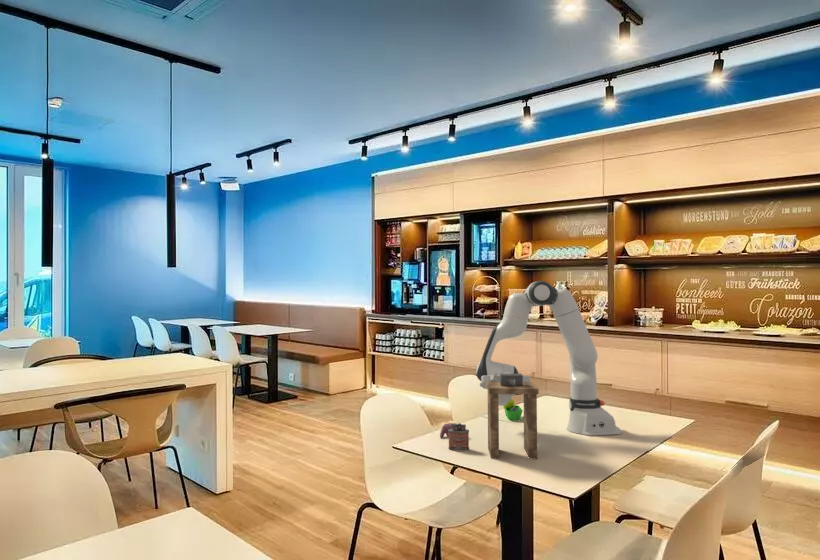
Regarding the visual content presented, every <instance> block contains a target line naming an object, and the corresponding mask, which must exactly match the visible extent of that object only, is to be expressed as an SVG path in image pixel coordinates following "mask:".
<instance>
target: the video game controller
mask: <svg viewBox="0 0 820 560" xmlns="http://www.w3.org/2000/svg"><path fill="white" fill-rule="evenodd" d="M450 424H457V423H455V422H449V423H444V424H443V425H442V426H441V429H440V433H439V437H440V439H443V437H444V436H445V435H446V436H447V438H449V432H448V430H449V429H453V428H454V427H450ZM455 429H457V427H455Z"/></svg>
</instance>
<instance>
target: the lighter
mask: <svg viewBox="0 0 820 560" xmlns="http://www.w3.org/2000/svg"><path fill="white" fill-rule="evenodd" d="M450 427H454V428H453V429H449V430H448V432H449V437H448V450H449V451H469V450H470V447H469V446H470V445H469V443H470V442H469V441H470V440H469V438H470V437H469V433H470V430H469V429H468V428H467V425H466V423H465V424H463V423H461V422H459V423H456V424H450ZM455 427H457V429H455Z"/></svg>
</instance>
